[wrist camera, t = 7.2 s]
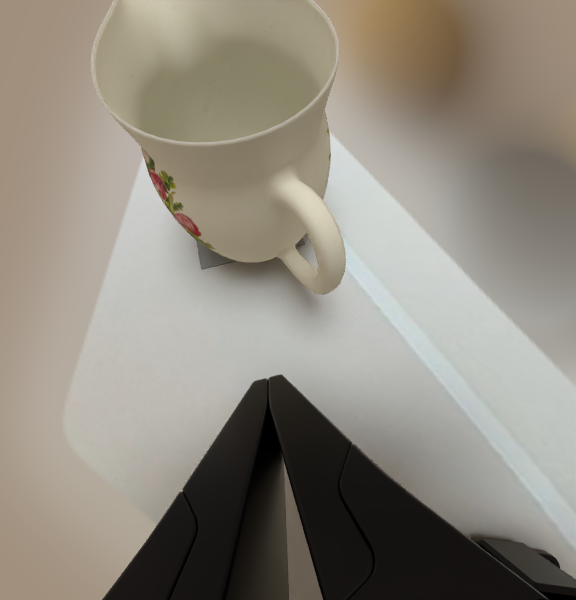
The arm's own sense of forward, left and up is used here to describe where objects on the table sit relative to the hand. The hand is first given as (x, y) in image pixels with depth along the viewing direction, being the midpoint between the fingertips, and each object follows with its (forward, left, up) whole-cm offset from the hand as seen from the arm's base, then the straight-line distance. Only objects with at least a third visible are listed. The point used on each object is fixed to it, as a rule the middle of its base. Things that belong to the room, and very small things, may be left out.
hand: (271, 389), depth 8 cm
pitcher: (+12, +3, -13) cm, 18 cm away
